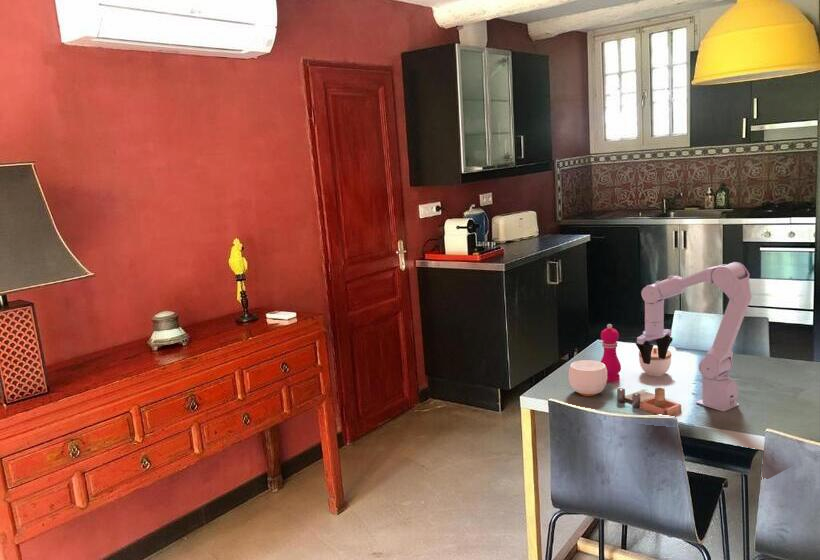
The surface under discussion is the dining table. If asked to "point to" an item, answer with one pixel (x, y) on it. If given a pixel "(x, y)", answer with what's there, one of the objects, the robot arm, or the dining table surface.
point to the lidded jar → (656, 363)
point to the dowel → (660, 397)
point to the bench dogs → (635, 398)
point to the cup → (588, 377)
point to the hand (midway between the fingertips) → (654, 360)
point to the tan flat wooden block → (643, 396)
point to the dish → (669, 409)
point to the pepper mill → (610, 354)
